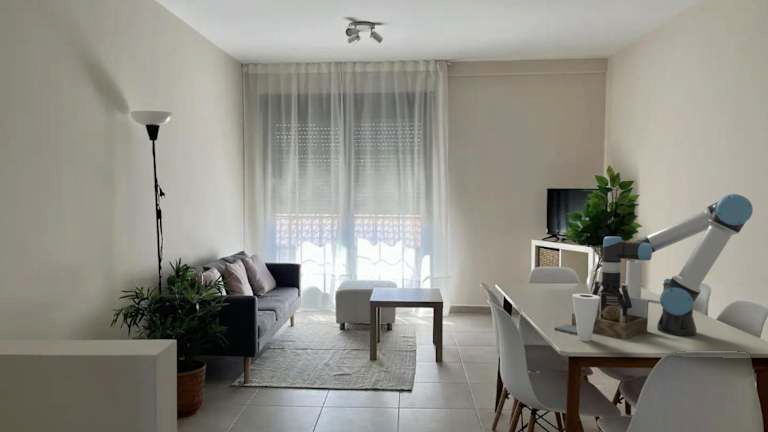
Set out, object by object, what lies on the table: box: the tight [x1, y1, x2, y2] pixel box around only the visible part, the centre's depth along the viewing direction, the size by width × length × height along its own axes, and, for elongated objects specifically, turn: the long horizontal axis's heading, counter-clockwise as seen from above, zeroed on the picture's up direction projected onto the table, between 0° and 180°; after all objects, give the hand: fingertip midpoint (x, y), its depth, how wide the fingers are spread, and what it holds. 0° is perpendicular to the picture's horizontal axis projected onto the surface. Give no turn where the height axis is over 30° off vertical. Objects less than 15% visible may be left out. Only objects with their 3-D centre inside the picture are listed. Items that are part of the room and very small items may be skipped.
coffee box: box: [598, 290, 623, 323], centre depth 237 cm, size 9×6×16 cm
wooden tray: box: [571, 312, 649, 340], centre depth 237 cm, size 24×21×6 cm
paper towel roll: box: [625, 260, 643, 298], centre depth 310 cm, size 7×6×21 cm
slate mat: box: [554, 323, 578, 336], centre depth 234 cm, size 10×10×1 cm
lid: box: [597, 290, 649, 319], centre depth 244 cm, size 24×1×8 cm, turn 40°
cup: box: [571, 293, 600, 342], centre depth 219 cm, size 11×11×18 cm
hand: (609, 320), depth 237 cm, fingers closed on coffee box, 11 cm apart
